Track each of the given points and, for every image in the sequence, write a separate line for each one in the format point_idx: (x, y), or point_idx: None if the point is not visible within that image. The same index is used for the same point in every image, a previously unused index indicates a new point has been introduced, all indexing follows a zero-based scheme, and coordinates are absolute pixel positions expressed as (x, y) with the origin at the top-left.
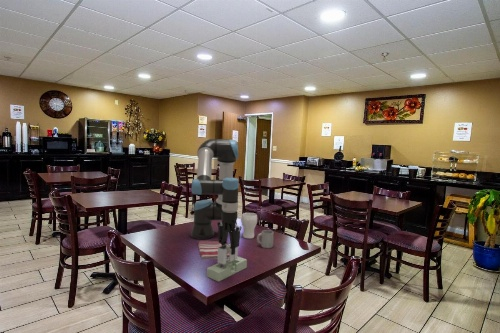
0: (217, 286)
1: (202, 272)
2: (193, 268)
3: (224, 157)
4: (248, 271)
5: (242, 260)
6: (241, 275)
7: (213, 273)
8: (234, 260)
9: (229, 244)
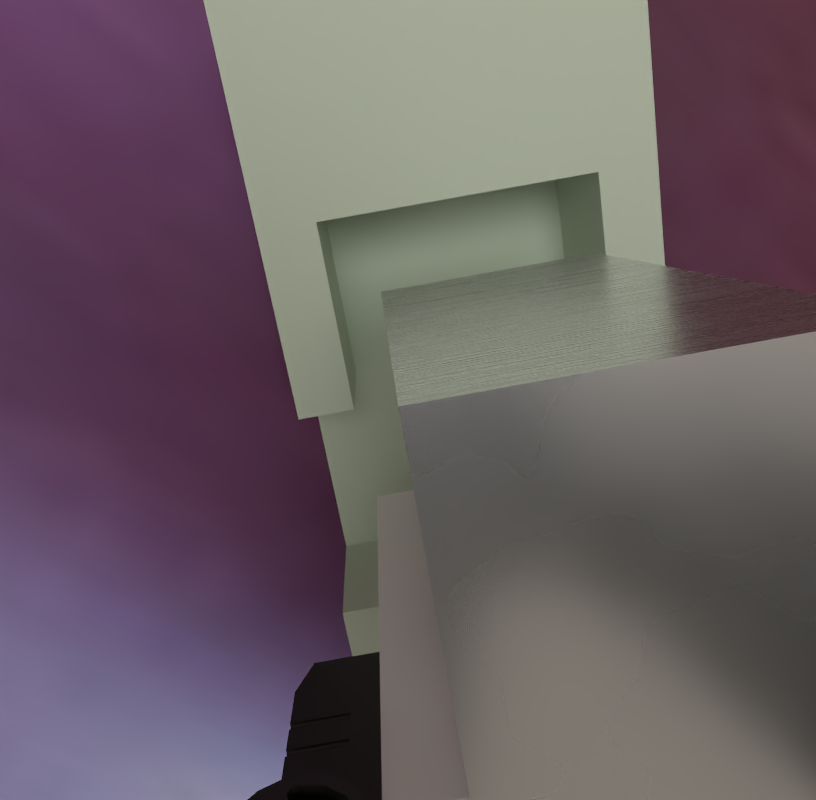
0: None
1: (238, 747)
2: (24, 787)
3: None
4: (729, 84)
5: (598, 61)
6: None
7: None
8: (410, 204)
9: (564, 748)
